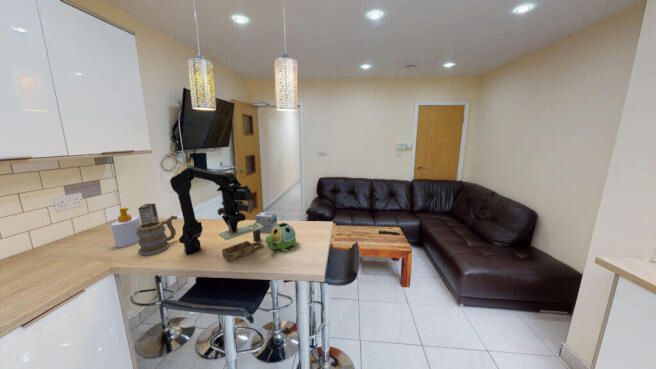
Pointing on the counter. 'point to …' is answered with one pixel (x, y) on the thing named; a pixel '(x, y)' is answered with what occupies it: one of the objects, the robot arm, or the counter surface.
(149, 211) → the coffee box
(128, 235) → the soap bottle
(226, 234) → the lid
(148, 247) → the tankard
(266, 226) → the light bulb box
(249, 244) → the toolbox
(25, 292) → the counter surface
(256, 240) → the key peg
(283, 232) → the turtle holder
